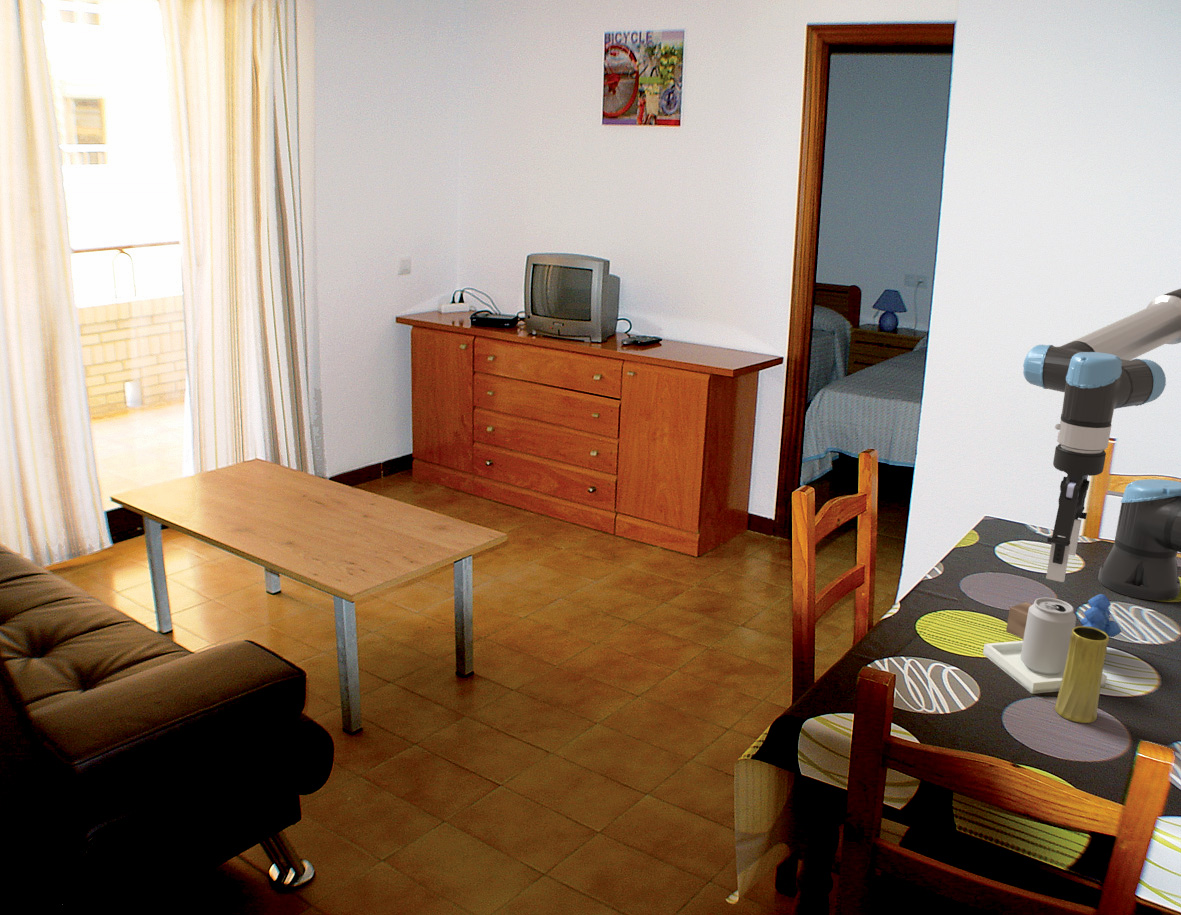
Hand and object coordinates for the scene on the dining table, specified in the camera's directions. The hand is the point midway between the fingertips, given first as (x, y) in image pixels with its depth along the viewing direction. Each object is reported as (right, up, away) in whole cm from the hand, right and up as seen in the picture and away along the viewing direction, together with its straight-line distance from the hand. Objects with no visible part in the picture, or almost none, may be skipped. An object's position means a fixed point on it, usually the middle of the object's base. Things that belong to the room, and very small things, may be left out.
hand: (1061, 566), depth 167 cm
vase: (-2, -23, -10) cm, 25 cm away
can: (-1, -18, +4) cm, 19 cm away
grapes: (+11, -17, +9) cm, 22 cm away
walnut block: (+2, -15, +17) cm, 23 cm away
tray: (-2, -19, +4) cm, 19 cm away
